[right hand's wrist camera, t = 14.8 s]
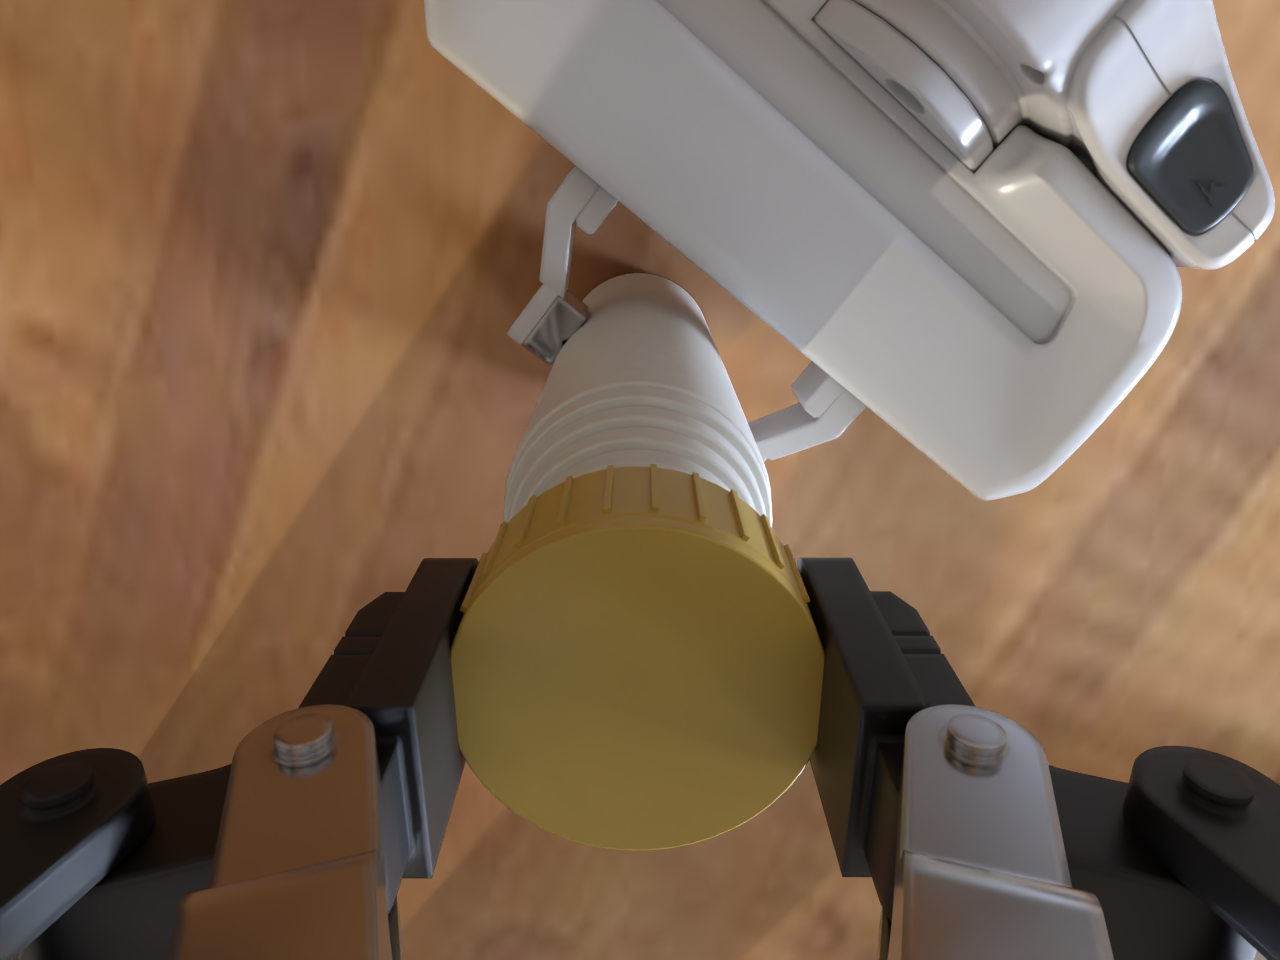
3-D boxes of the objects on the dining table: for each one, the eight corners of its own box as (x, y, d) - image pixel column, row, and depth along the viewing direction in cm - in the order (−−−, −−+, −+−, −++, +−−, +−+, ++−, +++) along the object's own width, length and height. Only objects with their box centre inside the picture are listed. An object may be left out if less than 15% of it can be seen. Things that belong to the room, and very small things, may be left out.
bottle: (641, 438, 31) (646, 895, 12) (539, 347, 30) (358, 690, 11) (737, 341, 30) (919, 673, 11) (635, 241, 29) (626, 411, 9)
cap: (756, 775, 13) (776, 880, 11) (451, 722, 13) (417, 820, 11) (845, 499, 12) (886, 566, 10) (498, 429, 11) (469, 484, 9)
